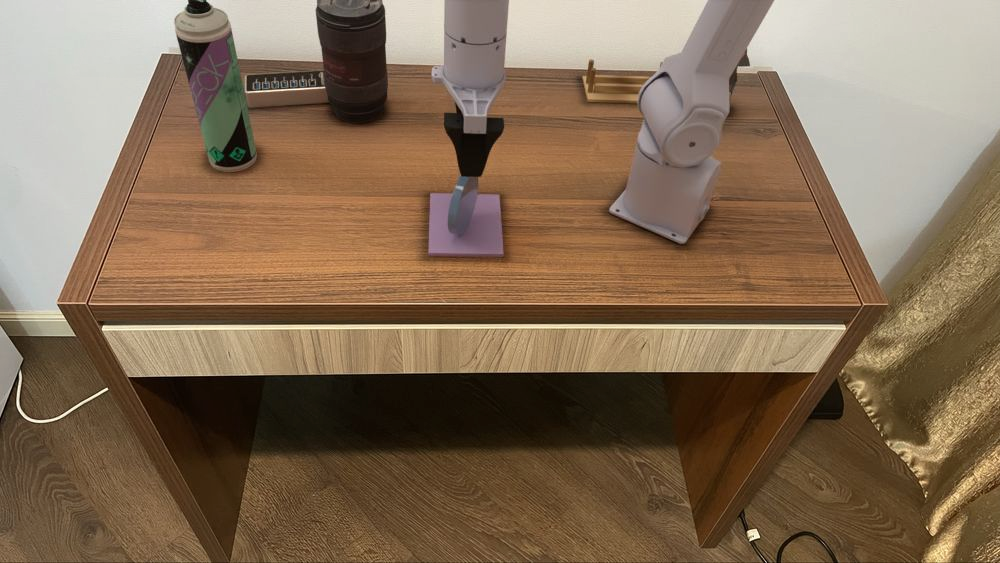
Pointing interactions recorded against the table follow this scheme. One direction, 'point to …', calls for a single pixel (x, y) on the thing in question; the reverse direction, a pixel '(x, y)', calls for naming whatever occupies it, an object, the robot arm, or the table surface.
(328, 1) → the camera lens
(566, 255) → the table surface
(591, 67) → the rack
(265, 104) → the multiport hub
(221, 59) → the spray can
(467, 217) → the plate
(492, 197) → the mat
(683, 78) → the robot arm
